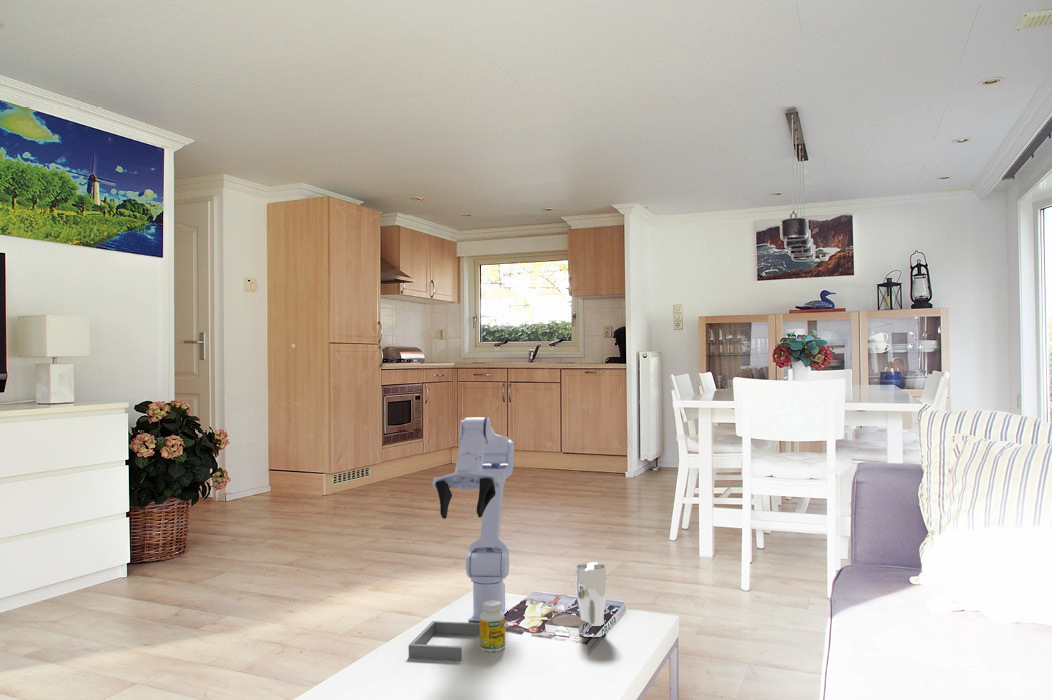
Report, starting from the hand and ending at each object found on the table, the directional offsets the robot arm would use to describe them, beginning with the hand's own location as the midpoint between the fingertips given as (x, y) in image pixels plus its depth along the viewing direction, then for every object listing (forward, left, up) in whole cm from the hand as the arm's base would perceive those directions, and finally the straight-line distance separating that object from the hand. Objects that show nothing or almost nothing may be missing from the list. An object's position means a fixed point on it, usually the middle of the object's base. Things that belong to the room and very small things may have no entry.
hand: (461, 515), depth 152 cm
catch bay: (-8, -6, -30) cm, 31 cm away
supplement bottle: (-8, +4, -30) cm, 31 cm away
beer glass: (-20, +24, -30) cm, 43 cm away
